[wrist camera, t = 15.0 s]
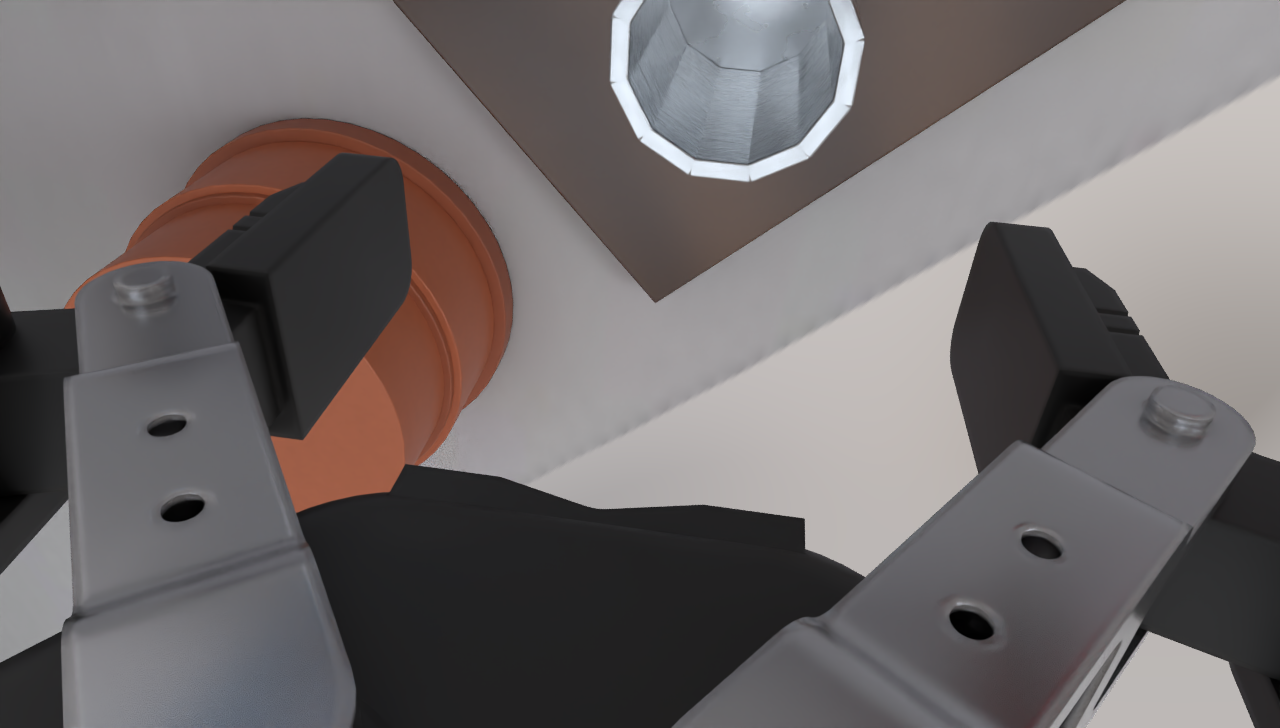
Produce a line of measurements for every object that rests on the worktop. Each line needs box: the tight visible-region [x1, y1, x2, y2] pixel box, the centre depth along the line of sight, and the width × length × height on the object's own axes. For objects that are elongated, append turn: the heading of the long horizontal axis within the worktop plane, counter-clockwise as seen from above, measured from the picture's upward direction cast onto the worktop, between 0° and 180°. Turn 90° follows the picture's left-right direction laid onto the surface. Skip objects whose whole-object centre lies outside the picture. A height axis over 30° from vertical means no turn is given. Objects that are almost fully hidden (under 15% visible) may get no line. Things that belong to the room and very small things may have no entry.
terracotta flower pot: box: [64, 119, 513, 513], centre depth 35 cm, size 15×15×10 cm
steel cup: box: [609, 0, 865, 182], centre depth 25 cm, size 6×6×9 cm
